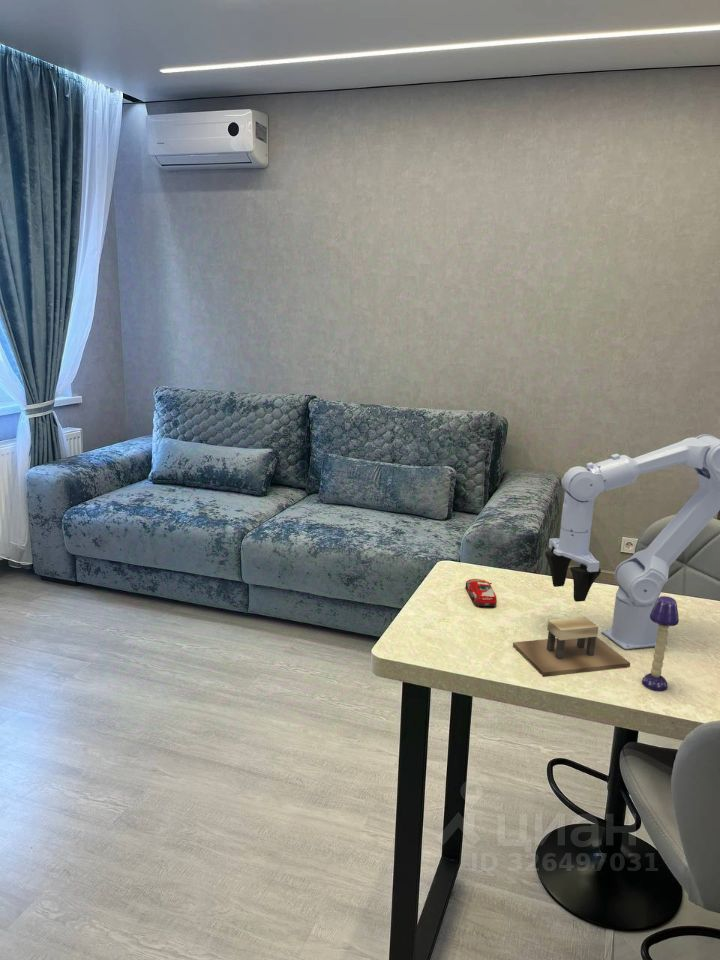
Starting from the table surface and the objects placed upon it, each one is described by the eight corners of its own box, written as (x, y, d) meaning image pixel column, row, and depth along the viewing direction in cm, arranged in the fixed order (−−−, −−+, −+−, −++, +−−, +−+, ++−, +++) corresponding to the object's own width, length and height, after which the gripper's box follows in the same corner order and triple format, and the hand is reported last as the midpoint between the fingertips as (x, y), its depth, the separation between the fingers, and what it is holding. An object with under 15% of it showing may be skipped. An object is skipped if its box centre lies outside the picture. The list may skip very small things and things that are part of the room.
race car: (463, 586, 169) (464, 571, 168) (486, 587, 169) (487, 571, 168) (473, 609, 156) (475, 592, 155) (498, 610, 156) (499, 593, 155)
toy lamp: (673, 692, 123) (687, 604, 119) (647, 693, 123) (660, 604, 119) (660, 678, 128) (672, 593, 124) (635, 679, 128) (647, 593, 124)
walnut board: (593, 638, 143) (593, 634, 143) (629, 666, 132) (630, 662, 132) (512, 646, 139) (513, 642, 138) (543, 676, 127) (543, 672, 127)
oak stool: (545, 648, 136) (548, 620, 135) (581, 645, 138) (585, 616, 137) (557, 659, 132) (560, 630, 131) (595, 655, 134) (598, 626, 133)
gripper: (538, 518, 144) (532, 581, 147) (579, 541, 130) (571, 609, 134) (568, 517, 146) (562, 578, 149) (611, 539, 132) (603, 606, 136)
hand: (568, 593), depth 142 cm, fingers open, 7 cm apart
